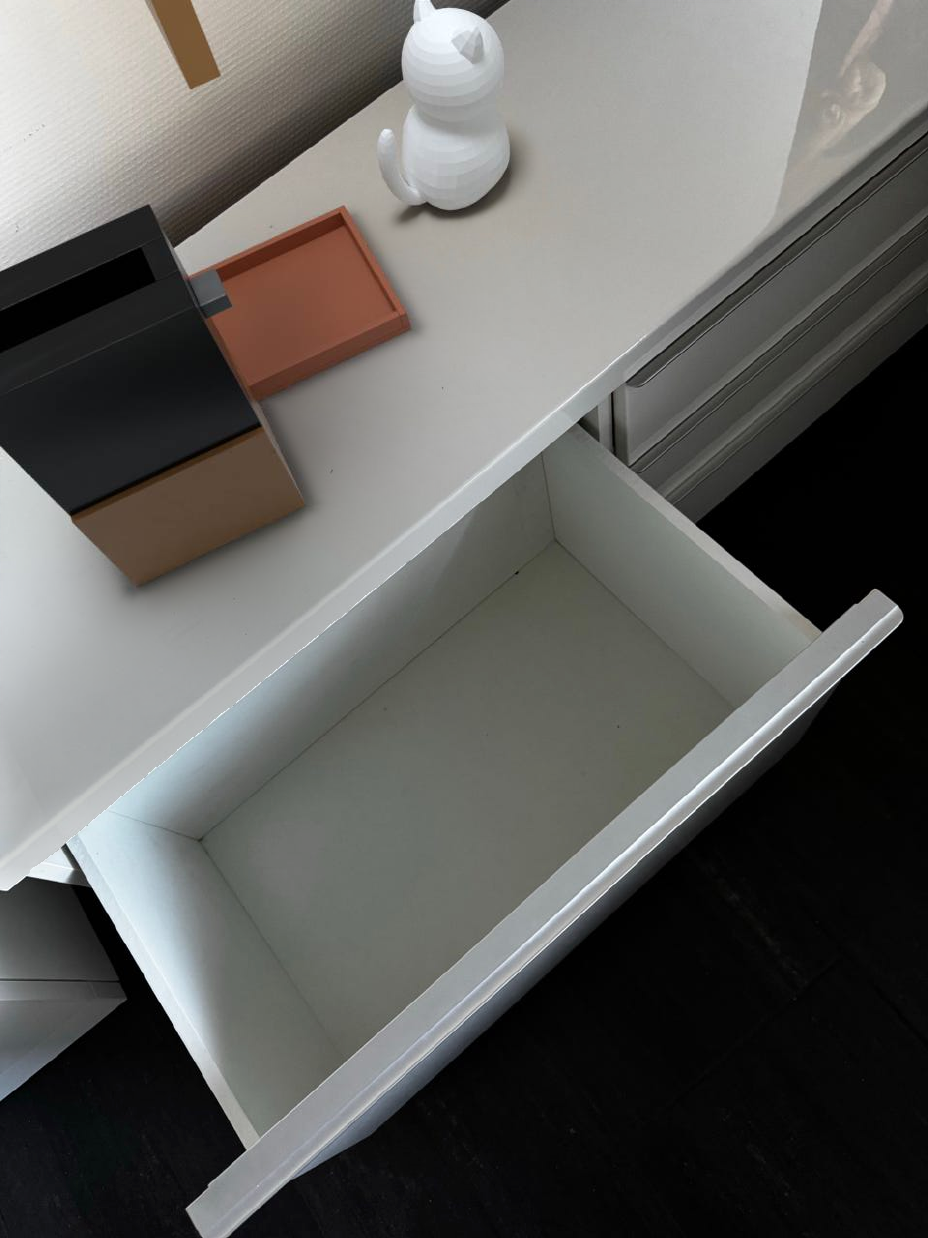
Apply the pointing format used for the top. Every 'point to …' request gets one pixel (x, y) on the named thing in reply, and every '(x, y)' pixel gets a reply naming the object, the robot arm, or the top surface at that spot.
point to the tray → (305, 303)
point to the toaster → (134, 400)
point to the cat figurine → (448, 111)
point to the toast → (185, 40)
